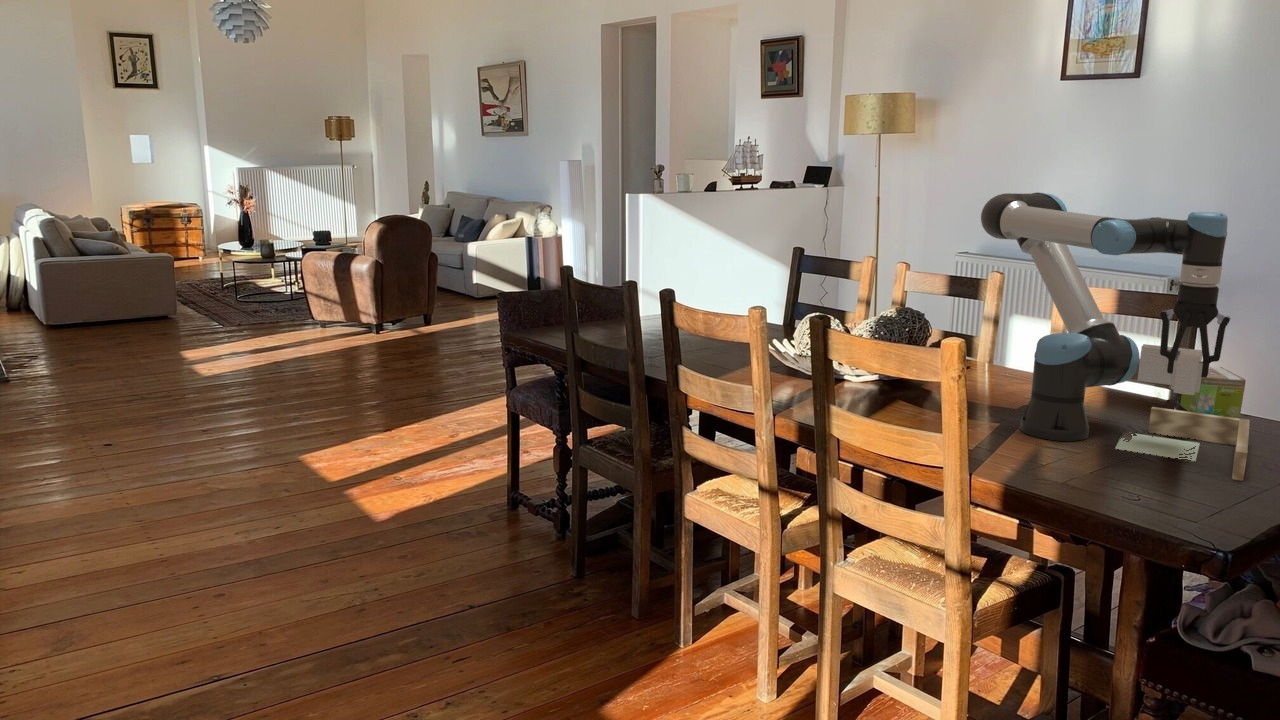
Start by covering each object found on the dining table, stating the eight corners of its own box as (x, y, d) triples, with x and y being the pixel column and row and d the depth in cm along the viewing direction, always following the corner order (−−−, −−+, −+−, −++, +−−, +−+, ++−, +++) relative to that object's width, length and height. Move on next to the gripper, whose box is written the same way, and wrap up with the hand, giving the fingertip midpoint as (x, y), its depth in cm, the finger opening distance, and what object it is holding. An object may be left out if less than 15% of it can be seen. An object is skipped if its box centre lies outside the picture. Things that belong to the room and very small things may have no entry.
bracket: (1194, 395, 210) (1199, 359, 208) (1132, 387, 217) (1137, 352, 215) (1198, 384, 220) (1202, 350, 218) (1139, 377, 226) (1143, 344, 225)
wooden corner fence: (1135, 463, 209) (1138, 436, 208) (1149, 430, 234) (1152, 406, 233) (1243, 480, 199) (1247, 453, 198) (1245, 444, 224) (1249, 419, 222)
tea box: (1238, 440, 227) (1247, 379, 224) (1191, 437, 229) (1200, 376, 226) (1214, 422, 242) (1223, 365, 239) (1171, 420, 244) (1178, 363, 241)
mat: (1114, 449, 219) (1114, 448, 219) (1123, 432, 233) (1123, 431, 232) (1195, 462, 211) (1195, 461, 211) (1199, 443, 224) (1199, 443, 224)
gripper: (1152, 283, 210) (1139, 387, 215) (1244, 289, 201) (1229, 398, 206) (1156, 279, 216) (1144, 381, 221) (1246, 285, 207) (1230, 391, 212)
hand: (1185, 389), depth 214 cm, fingers closed on bracket, 4 cm apart
